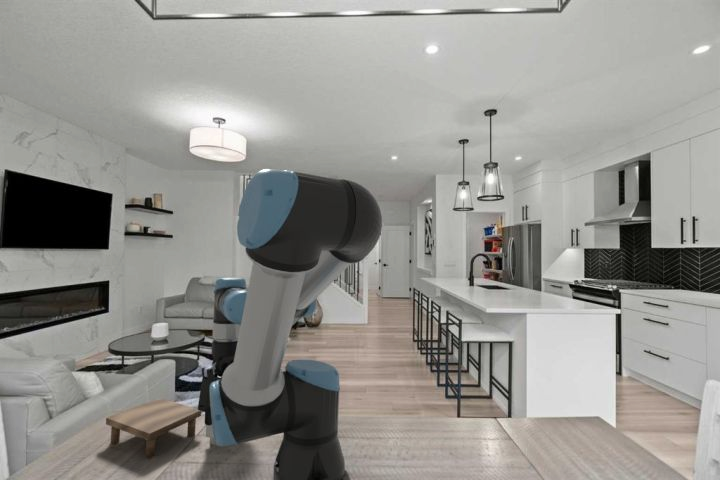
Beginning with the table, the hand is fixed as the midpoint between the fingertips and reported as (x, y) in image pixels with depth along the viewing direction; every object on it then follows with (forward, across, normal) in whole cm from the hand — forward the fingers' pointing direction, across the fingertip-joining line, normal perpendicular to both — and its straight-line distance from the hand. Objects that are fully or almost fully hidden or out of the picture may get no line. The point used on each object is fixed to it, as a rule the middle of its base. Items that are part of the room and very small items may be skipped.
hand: (223, 429), depth 90 cm
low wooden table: (+2, +8, -15) cm, 17 cm away
